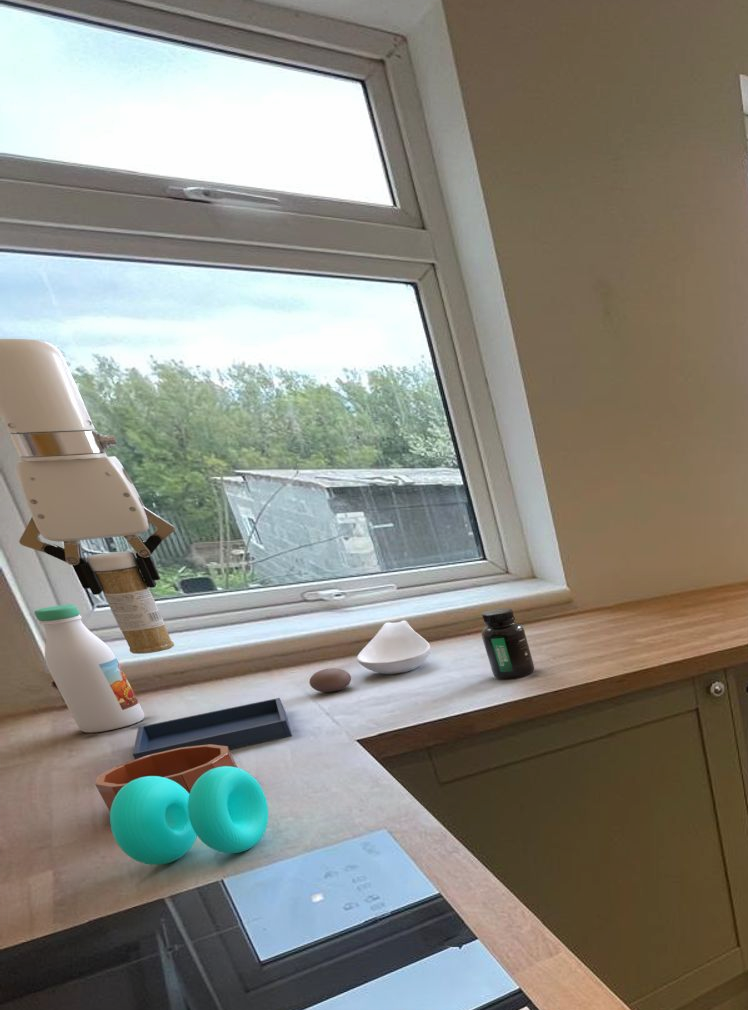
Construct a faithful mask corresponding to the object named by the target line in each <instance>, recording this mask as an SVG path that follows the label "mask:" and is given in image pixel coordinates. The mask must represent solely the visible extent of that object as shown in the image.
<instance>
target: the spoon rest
mask: <svg viewBox="0 0 748 1010" xmlns="http://www.w3.org/2000/svg"><path fill="white" fill-rule="evenodd" d="M430 652H431V645H430V643H429V642H428V640H426V639H425V638H424V637H423V636H421V635H420V634H419V633H418V632H416V630H414V629H413V628H412V626H411V625H410V624H409V622H408V621H407V620H406V619H405V620H401V621H398V622H389V621H388V622H385V623H384V624H382V626H381V628H380V629H379V630H378V631H377V632H376V634H375V635H374V637H373V638H371V639H370V641H369V642H368V643H367V644H366V645H365V646H364V647H363V648H362V650H360V652H358V654H357V656H356V661H357V663H358V664H360V665H361V666H362V667H364V668H365V669H367V670H369V671H370V672H371V671H372V672H373V673H374V672H375V673H378V674H383V675H396V674H397V675H398V674H403V673H407V672H411V671H413V670H415V669H417V668H419V667H420V666H421V665H422V664H423V663H425V661H426V660H427V659H428V657H429V655H430Z"/></svg>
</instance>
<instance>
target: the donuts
mask: <svg viewBox="0 0 748 1010" xmlns="http://www.w3.org/2000/svg"><path fill="white" fill-rule="evenodd" d="M109 822H110V828H111V832H112V835H113V838H114V840H115V842H116V844H117V845H118V847H119V848H120V849H121V850H122V851H123V852H124V853H125V854H126V856H128V857H130V858H131V859H132V860H133V861H136V862H138V863H141V864H145V865H151V866H160V865H166V864H170V863H173V862H175V861H177V860H179V859H181V858H182V857H184V856H185V855H186V854H187V853H188V852H189V851H190V849H191V848H192V847H193V845H194V844H195V842H196V841H197V838H198V839H199V840H200V841H201V842H202V843H203V844H204V845H206V846H207V847H208V848H210V849H212V850H215V851H217V852H219V853H224V854H238V853H243V852H245V851H248V850H250V849H252V848H253V847H255V846H256V845H257V844H258V843H259V842H260V841H261V840H262V838H263V837H264V834H265V832H266V830H267V827H268V823H269V807H268V801H267V798H266V796H265V792H264V790H263V788H262V786H261V785H260V783H259V782H258V780H257V779H256V778H255V777H254V776H253V775H252V774H251V773H249V772H247V771H246V770H244V769H242V768H239V767H238V768H236V767H230V766H223V767H217V768H214V769H211V770H209V771H207V772H205V773H204V774H203V775H202V776H200V777H199V778H198V779H197V781H196V782H195V784H194V785H193V787H192V789H191V791H190V794H189V793H188V792H187V791H186V790H185V789H184V788H183V787H182V786H181V785H179V784H178V783H176V782H174V781H172V780H170V779H168V778H164V777H159V776H146V777H141V778H138V779H135V780H132V781H131V782H129V783H127V784H126V785H125V786H123V787H122V788H121V789H120V791H119V792H118V793H117V795H116V797H115V798H114V801H113V803H112V806H111V811H109Z"/></svg>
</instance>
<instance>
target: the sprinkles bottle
mask: <svg viewBox="0 0 748 1010" xmlns="http://www.w3.org/2000/svg"><path fill="white" fill-rule="evenodd" d="M136 558H137V556H136V554H135V553H134V552H133V551H129V550H128V551H127V550H125V551H109V552H101V553H96V554H92V555H88V556H86V558H85V559H86V562H88V565H89V567H90V569H91V570H92V571H94V574H95V575H96V577H97V579H98V581H99V584H100V586H101V588H102V590H103V591H102V592H103V594H104V598H105V600H106V602H107V604H108V606H109V609H110V611H111V613H112V616H113V618H114V619H115V622H116V623H117V626H118V628H119V630H120V631H121V633H122V635H123V637H124V639H125V642H126V643H127V645H128V647H129V652H130V653H131V654H135V655H137V654H138V655H141V654H143V655H145V654H152V653H158V652H162V651H163V652H164V651H167V650H170V649H172V648H174V646H175V643H174V642H173V641H172V639H171V637H170V634H169V632H168V631H167V628H166V626H165V625H166V624H165V620H164V619H163V617H162V614H161V612H160V609H159V608H158V606H157V604H156V601H155V598H154V596H153V594H152V592H151V590H150V587H147V585H146V583H145V581H144V578H143V576H142V574H141V572H140V569H139V567H138V565H137V563H136V560H135V559H136Z"/></svg>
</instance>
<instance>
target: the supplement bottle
mask: <svg viewBox="0 0 748 1010" xmlns="http://www.w3.org/2000/svg"><path fill="white" fill-rule="evenodd" d="M481 617H482V619H483V624H484V625H486V626H485V627H484V628H483V629H482V631H481V639H482V641H483V646H484V648H485V652H486V656H487V659H488V662H489V665H490V668H491V672H492V675H493V677H494V678H495V679H497V680H513V679H514V680H515V679H519V678H524V677H527V676H530V675H531V674H533V673H534V671H535V664H534V660H533V657H532V653H531V649H530V646H529V642H528V639H527V635H526V632H525V629H524V627H523V625H522V624H520V623H518V622H515V620H516V618H515V615H514V611H513V610H512V609H511V608H497V609H491V610H487V611H483V612H482V613H481Z"/></svg>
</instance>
